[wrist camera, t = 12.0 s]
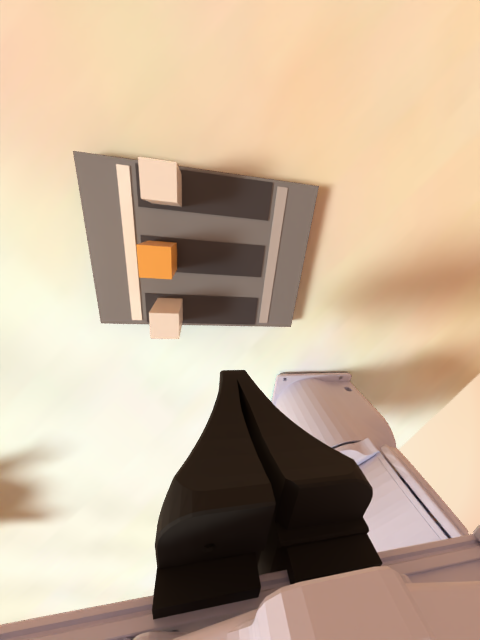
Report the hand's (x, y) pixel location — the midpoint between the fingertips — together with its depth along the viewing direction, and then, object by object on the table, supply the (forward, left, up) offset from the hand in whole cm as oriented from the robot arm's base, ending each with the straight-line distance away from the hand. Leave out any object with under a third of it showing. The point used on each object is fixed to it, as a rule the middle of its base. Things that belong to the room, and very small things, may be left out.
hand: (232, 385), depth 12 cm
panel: (+1, -5, -10) cm, 12 cm away
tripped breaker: (+5, -5, -9) cm, 11 cm away
